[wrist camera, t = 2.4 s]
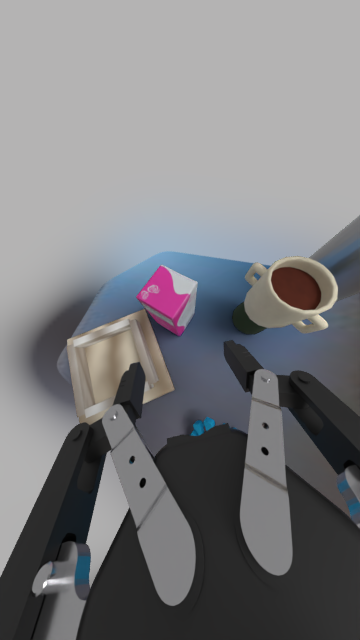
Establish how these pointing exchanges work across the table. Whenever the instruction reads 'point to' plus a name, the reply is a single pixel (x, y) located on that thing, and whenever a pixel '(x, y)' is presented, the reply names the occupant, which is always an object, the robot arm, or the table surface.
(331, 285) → the character mug
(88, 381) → the plate
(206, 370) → the table surface
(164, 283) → the supplement box
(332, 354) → the table surface
